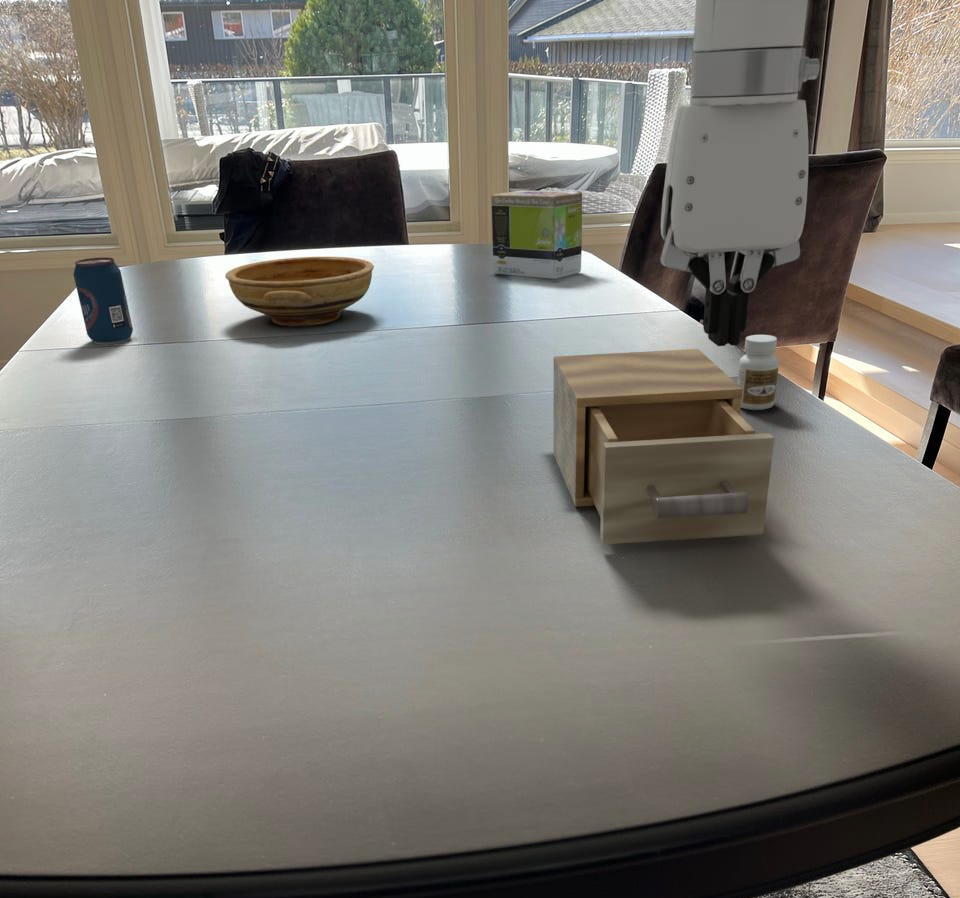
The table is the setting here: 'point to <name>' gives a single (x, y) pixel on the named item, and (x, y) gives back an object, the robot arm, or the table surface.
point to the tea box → (537, 233)
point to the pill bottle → (758, 372)
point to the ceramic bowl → (301, 287)
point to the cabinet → (625, 396)
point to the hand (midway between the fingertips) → (723, 341)
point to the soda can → (103, 300)
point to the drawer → (675, 471)
